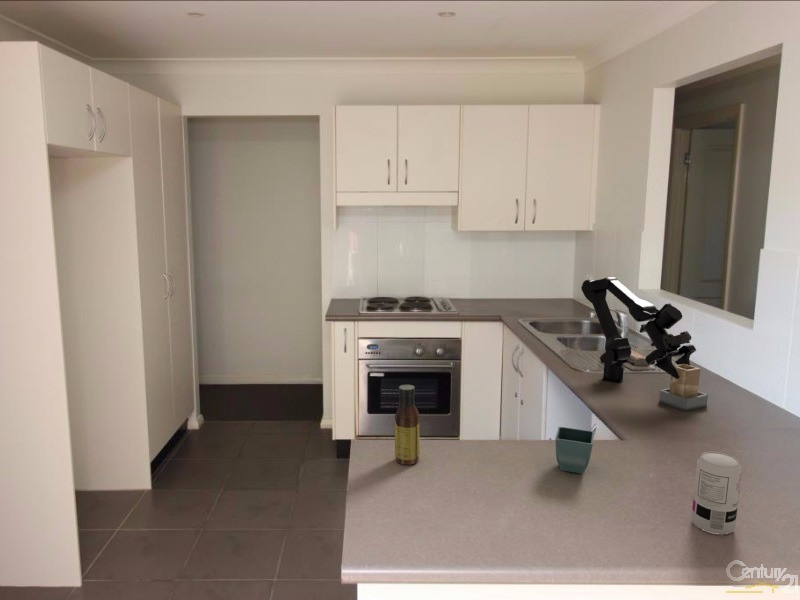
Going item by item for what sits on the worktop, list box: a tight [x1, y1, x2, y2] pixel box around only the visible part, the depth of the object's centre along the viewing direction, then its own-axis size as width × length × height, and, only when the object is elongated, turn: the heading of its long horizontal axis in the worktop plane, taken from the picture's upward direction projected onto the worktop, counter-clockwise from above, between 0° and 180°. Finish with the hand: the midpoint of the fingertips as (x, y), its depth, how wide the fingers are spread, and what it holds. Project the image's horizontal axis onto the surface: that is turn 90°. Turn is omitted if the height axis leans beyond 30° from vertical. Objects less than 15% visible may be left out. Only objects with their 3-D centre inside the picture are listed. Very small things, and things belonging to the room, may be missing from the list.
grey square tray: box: [658, 387, 709, 412], centre depth 206 cm, size 10×10×4 cm
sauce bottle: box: [394, 384, 421, 466], centre depth 159 cm, size 6×6×20 cm
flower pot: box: [554, 426, 595, 474], centre depth 157 cm, size 9×9×9 cm
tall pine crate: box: [669, 364, 701, 399], centre depth 205 cm, size 6×6×10 cm
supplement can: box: [691, 451, 743, 534], centre depth 130 cm, size 8×8×15 cm
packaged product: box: [623, 349, 657, 371], centre depth 253 cm, size 18×5×10 cm
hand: (684, 377), depth 205 cm, fingers closed on tall pine crate, 6 cm apart
